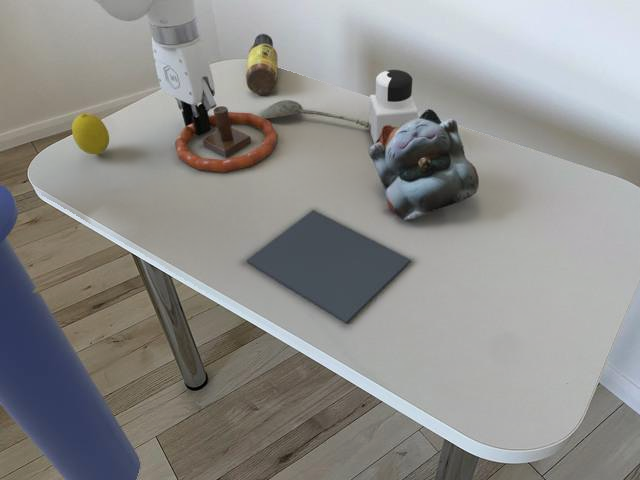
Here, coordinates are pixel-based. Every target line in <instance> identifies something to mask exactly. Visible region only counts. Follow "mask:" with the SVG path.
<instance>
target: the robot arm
mask: <svg viewBox="0 0 640 480" xmlns="http://www.w3.org/2000/svg"><path fill="white" fill-rule="evenodd" d="M93 1H94V2H95V3H96V4H97V5H98V6H99V7H101V8H102V10H104V11H105V12H106V13H107V14H108V15H109V16H111V17H112V18H114V19H117V20H119V21H123V22H134V21H137V20H141V19H142V18H144V16H146V18H147V22H148V25H149V29H150V33H151V43H152V44H151V45H152V53H153V59H154V65H155V70H156V74H157V78H158V82H159V87H160V89H161V90H162V92H163V93H164V94H167V96H171V97H173V98H174V99H175V100H176V102H177V106H178V109H179V110H180V111H181V114H182V118H183V122H184V128H185V127H186V126H188V125H190V124H192V123H193V124H194V129H195V133H196V134H195V136H198V137H201V136H202V135H204V134H206V133H208V132H209V131H211V130H212V127H211V125H210V120H209V116H210V115H209V112H210V110H212V109H213V110H214V109H215V108H216V107H218V106H217V103H216V101H215V98H214V96H215V94H216V89H215V82H214V79H213V78H214V77H213V73H212V69H211V66H210V65H211V64H210V62H209V59H208V56H207V53H206V49H205V46H204V44H203V42H202V39H201V32H200V27H199V23H198V17H197V13H196V8H195V3H194V0H93Z"/></svg>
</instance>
